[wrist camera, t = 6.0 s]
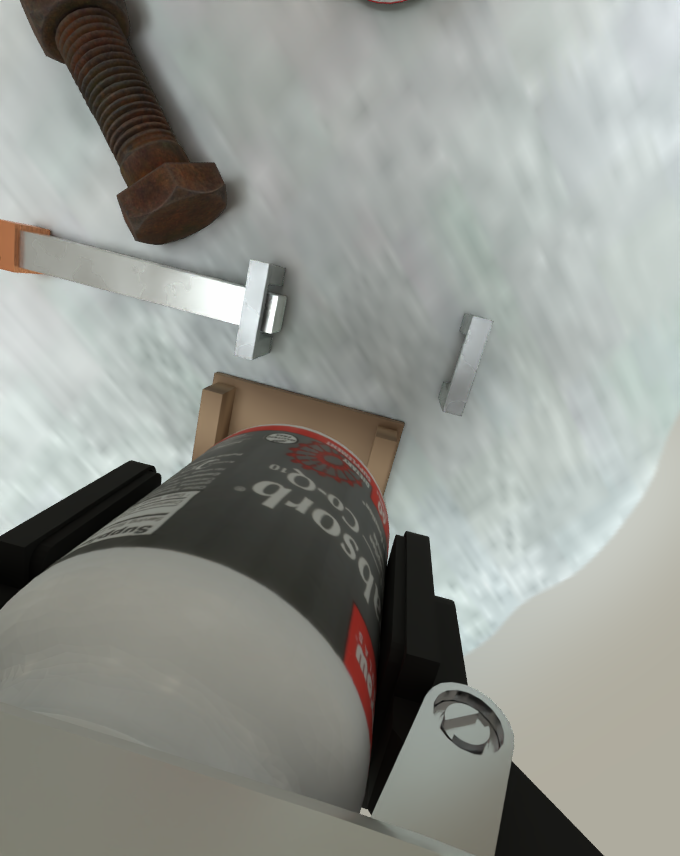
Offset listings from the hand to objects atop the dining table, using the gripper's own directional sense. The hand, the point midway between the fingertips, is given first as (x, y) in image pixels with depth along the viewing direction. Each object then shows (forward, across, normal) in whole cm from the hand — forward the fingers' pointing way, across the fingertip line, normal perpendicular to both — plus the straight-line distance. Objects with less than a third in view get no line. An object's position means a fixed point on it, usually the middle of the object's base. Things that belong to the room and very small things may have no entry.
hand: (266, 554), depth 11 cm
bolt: (+18, +15, -14) cm, 27 cm away
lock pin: (+18, +13, -4) cm, 22 cm away
